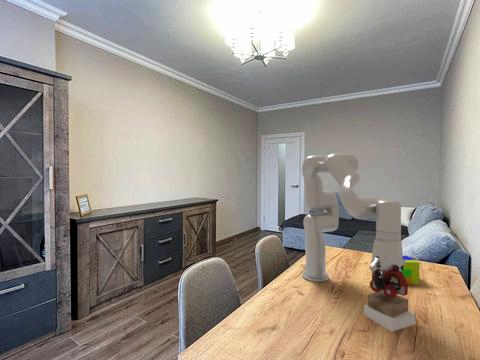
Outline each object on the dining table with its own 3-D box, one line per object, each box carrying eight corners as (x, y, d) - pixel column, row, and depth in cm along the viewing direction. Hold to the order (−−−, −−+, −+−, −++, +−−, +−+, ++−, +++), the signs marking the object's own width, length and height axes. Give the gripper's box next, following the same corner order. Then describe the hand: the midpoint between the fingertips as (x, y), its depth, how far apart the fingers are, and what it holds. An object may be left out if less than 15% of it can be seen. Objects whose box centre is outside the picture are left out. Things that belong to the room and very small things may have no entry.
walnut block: (367, 306, 94) (367, 295, 94) (382, 300, 98) (382, 289, 98) (393, 318, 86) (393, 305, 86) (408, 310, 90) (408, 299, 90)
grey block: (363, 316, 95) (363, 305, 95) (386, 310, 99) (386, 299, 99) (391, 332, 84) (391, 320, 84) (415, 325, 89) (415, 313, 88)
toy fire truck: (399, 302, 85) (400, 270, 84) (365, 288, 96) (365, 259, 95) (412, 298, 88) (412, 267, 88) (377, 284, 99) (378, 256, 99)
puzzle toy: (407, 275, 132) (407, 256, 131) (419, 284, 122) (419, 262, 122) (386, 275, 133) (386, 255, 132) (396, 283, 123) (396, 261, 122)
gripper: (395, 231, 98) (395, 278, 98) (360, 235, 92) (360, 286, 92) (415, 235, 91) (415, 286, 91) (379, 240, 85) (378, 295, 85)
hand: (387, 286), depth 92 cm, fingers closed on toy fire truck, 7 cm apart
